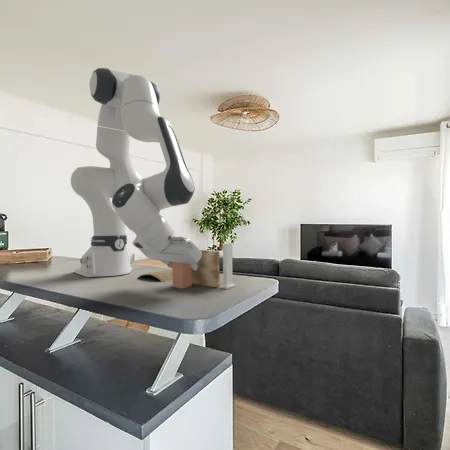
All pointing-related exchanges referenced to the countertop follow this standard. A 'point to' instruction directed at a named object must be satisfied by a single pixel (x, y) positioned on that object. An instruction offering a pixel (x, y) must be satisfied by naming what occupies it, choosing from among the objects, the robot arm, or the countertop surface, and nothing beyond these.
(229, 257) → the wall post
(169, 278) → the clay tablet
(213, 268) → the oak door
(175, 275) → the block
